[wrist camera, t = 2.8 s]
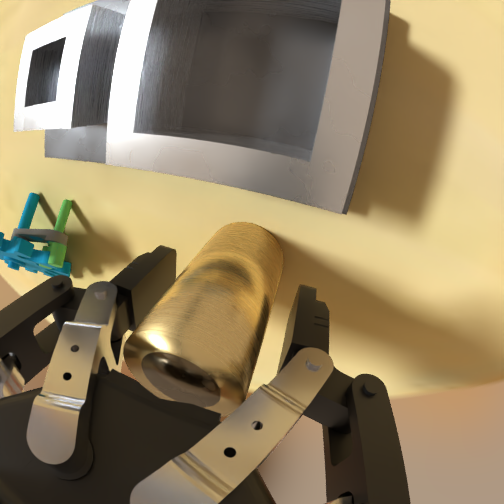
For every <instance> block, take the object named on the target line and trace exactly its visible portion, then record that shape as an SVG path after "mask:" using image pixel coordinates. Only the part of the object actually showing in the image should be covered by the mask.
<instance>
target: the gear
mask: <svg viewBox="0 0 504 504" xmlns="http://www.w3.org/2000/svg"><path fill="white" fill-rule="evenodd" d="M39 198H40V197H39V195H37V194H35V193H30V194H29V197H28V199H27V202H26V205H25V208H24V211H23V213H22V216H21V219H20V223H19V226H18V229H17V228H15V229H14V231H13V234H12V237H11V241H9V240H6V239H3V238H4V234H3V233H2V232H0V259H1V260H5V263H7V264H8V267H9V268H12V269H15V270H19V266H21V267H25V270H28V271H30V272H34V273H37V272H38V271H40V272H43V273H44V275H47V276H50V277H54V276H57V275H65V276H68V277H70V272H71V263H69V262H65V261H64V258H65V254H66V250H67V246H66V244H67V240H68V236H67V235H66V234H64V233H63V232H64V229H65V225H66V222H67V219H68V216H69V212H70V209H71V206H72V202H71V201H69V200H63V203H62V206H61V209H60V212H59V215H58V218H57V222H56V225H55V228H54V230H51V229H29V228H30V225H31V222H32V219H33V216H34V213H35V210H36V207H37V204H38V201H39ZM29 241H30V242H43V243H48V246H49V247H47V246H43V250H42V251H40V250H35V249H33V248H34V244H32V243H30V242H29Z"/></svg>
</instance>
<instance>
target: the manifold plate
mask: <svg viewBox="0 0 504 504" xmlns="http://www.w3.org/2000/svg"><path fill="white" fill-rule="evenodd" d="M389 12H390V0H97V1H94V2H91V3H89V4H86V5H84V6H81V7H79V8H76V9H74V10H72V11H69V12H67V13H65V14H63V17H61V18H58V19H56V20H54V21H52V22H50V23H48V24H46V25H44V26H42V27H40V28H39V29H37V30H35V31H33V32H31V33H30V34H28V35H26V38H25V43H24V47H23V52H22V57H21V62H20V68H19V74H18V81H17V89H16V99H15V112H14V132H16V131H27V130H42V129H45V157H50V158H61V159H71V160H80V161H89V162H97V163H105V164H107V165H114V166H121V167H128V168H135V169H141V170H147V171H153V172H159V173H165V174H171V175H176V176H182V177H187V178H192V179H197V180H203V181H208V182H212V183H217V184H222V185H227V186H231V187H236V188H241V189H245V190H249V191H254V192H258V193H262V194H267V195H271V196H275V197H279V198H283V199H287V200H291V201H295V202H299V203H302V204H306V205H310V206H314V207H317V208H321V209H325V210H328V211H332V212H336V213H339V214H347V211H348V208H349V204H350V201H351V198H352V194H353V191H354V187H355V184H356V180H357V177H358V173H359V169H360V166H361V162H362V158H363V154H364V150H365V146H366V142H367V138H368V134H369V130H370V125H371V121H372V117H373V112H374V107H375V102H376V98H377V93H378V87H379V82H380V76H381V71H382V65H383V59H384V52H385V45H386V38H387V30H388V21H389Z"/></svg>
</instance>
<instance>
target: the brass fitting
mask: <svg viewBox="0 0 504 504" xmlns="http://www.w3.org/2000/svg"><path fill="white" fill-rule="evenodd" d="M283 264H284V258H283V253H282V249H281V247H280V245H279V243H278V241H277V240H276V239H275V237H274V236H273V235H272V234H271V233H269V232H268V231H267V230H265V229H264V228H262V227H260V226H258V225H255V224H252V223H247V222H236V223H231V224H228V225H226V226H224V227H222V228H221V229H220V230H218V231H217V232H216V233H215V235H214V236H213V237H212V238H211V239H210V240H209V241H208V243H207V244H206V245H205V246H204V247H203V248H202V249H201V251H200V252H199V253H198V254H197V255H196V256H195V258H194V259H193V260H192V261H191V262H190V263H189V265H188V266H187V267H186V268H185V269H184V271H183V272H182V273H181V274H180V275H179V276H178V278H177V279H176V280H175V281H174V282H173V284H172V285H171V286H170V287H169V288H168V290H167V291H166V292H165V293H164V294H163V296H162V297H161V298H160V299H159V301H158V302H157V303H156V304H155V305H154V307H153V308H152V309H151V310H150V312H149V313H148V314H147V315H146V317H145V318H144V319H143V320H142V321H141V323H140V324H139V325H138V326H137V328H136V329H135V330H134V332H133V333H132V334H131V335H130V337H129V338H128V339H127V340H126V342H125V344H124V347H123V355H124V359H125V362H126V364H127V366H128V367H129V369H130V371H131V373H132V374H133V376H134V377H135V378H136V379H137V380H138V381H139V383H140V384H141V385H143V386H144V387H145V388H146V389H148V390H149V391H150V392H151V393H153V394H154V395H155V396H157V397H158V398H161V399H165V400H171V401H177V402H184V403H190V404H194V405H197V406H200V407H203V408H205V409H208V410H211V411H214V412H218V413H221V416H228V415H230V414H231V413H233V412H234V411H235V410H236V409H237V408H238V407H239V406H240V405H241V404H242V403H243V402H244V401H245V399H246V395H247V392H248V389H249V386H250V382H251V379H252V376H253V373H254V369H255V366H256V363H257V359H258V356H259V352H260V349H261V345H262V342H263V339H264V335H265V332H266V328H267V324H268V321H269V317H270V314H271V310H272V306H273V303H274V299H275V295H276V292H277V288H278V284H279V281H280V277H281V273H282V269H283Z"/></svg>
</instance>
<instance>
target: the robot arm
mask: <svg viewBox="0 0 504 504" xmlns="http://www.w3.org/2000/svg"><path fill="white" fill-rule="evenodd" d="M175 279H176V250H175V249H172V248H169V247H165V246H162V245H160V246H158V247H157V248H156V249H155V250H154V251H153V252H151V253H149V252H148V253H145V254H143V255H140V256H138V257H137V258H136V259H135V260H134V261H133V262H132V263H130V264H129V265H128V266H127V268H124V269H123V270H122V271H121V272H120V273H119V274H118V275H117V276H115V277H114V278H113V279H112V280H111V281H110V282H106V281H100V282H96V283H93V284H91V285H90V286H89V287H88V288H87V289H82V288H75V287H73V284H72V280H71V278H69V277H68V276H65V275H57V276H54V277H51V278H50V279H48V280H46V281H45V282H43V283H42V284H40V285H38V286H37V287H35V288H34V289H32V290H31V291H29V292H27V293H26V294H24V295H23V296H21V297H20V298H19V299H17V300H15V301H14V302H13V303H11V304H10V305H8V306H7V307H5V308H4V309H2V310H1V311H0V504H276V503H275V501H274V499H273V497H272V496H271V494H270V492H269V490H268V488H267V486H266V484H265V482H264V481H263V479H262V477H261V475H260V473H259V471H258V469H257V468H258V467H259V466H260V465H261V464H262V463H263V462H264V461H265V460H266V459H267V457H268V456H269V455H270V454H271V453H272V452H273V451H274V449H275V448H276V447H277V446H278V444H279V443H280V442H281V441H282V440H283V439H284V437H285V436H286V435H287V434H288V433H289V431H290V430H291V429H292V428H293V426H294V425H295V424H296V422H297V421H298V420H299V419H300V418H301V416H302V415H305V416H307V417H309V418H311V419H313V420H315V421H317V422H319V423H321V424H322V427H323V441H324V455H325V471H326V496H327V503H325V504H410V497H409V491H408V483H407V477H406V472H405V466H404V461H403V456H402V451H401V446H400V442H399V437H398V433H397V428H396V424H395V420H394V416H393V412H392V408H391V404H390V400H389V397H388V393H387V389H386V387H385V385H384V383H383V382H382V381H381V380H380V379H379V378H378V377H376V376H374V375H371V374H361V375H358V376H357V377H356V378H355V379H354V378H352V377H350V376H348V375H346V374H344V373H342V372H340V371H339V370H337V369H336V368H335V367H334V364H333V361H332V359H331V357H330V356H329V310H328V308H327V306H326V304H325V302H321V301H317V300H316V288H312V287H308V286H305V285H301V284H300V286H299V288H298V291H297V294H296V297H295V300H294V303H293V306H292V309H291V312H290V315H289V319H288V323H287V328H286V333H285V338H284V343H283V348H282V352H281V357H280V362H279V366H278V371H277V376H276V377H275V378H274V379H273V380H272V381H271V382H270V383H269V384H268V385H265V384H263V385H262V386H260V387H259V388H258V389H257V390H256V391H255V392H254V393H253V394H252V395H251V396H250V397H249V398H248V399H247V400H245V401H244V402H243V403H242V404H241V405H240V406H239V407H238V408H237V409H236V410H235V411H234V412H233V413H231V414H230V415H229V416H228V417H227V418H226V419H225V420H224V421H223V422H220V418H221V413H218V412H214V411H211V410H208V409H205V408H203V407H200V406H197V405H194V404H190V403H184V402H177V401H171V400H165V399H161V398H158V397H157V396H155V395H154V394H153V393H151V392H150V391H149V390H148V389H146V388H145V387H144V386H142V385H141V384H140V383H139V382H137V381H136V380H134V379H132V378H130V377H128V376H126V375H124V374H122V373H121V365H122V358H123V347H124V344H125V339H126V337H125V333H126V331H127V330H128V329H129V330H131V331H134V330H135V329H136V328H137V326H138V325H139V324H140V323H141V321H142V320H143V319H144V318H145V317H146V315H147V314H148V313H149V312H150V310H151V309H152V308H153V307H154V305H155V304H156V303H157V302H158V301H159V299H160V298H161V297H162V296H163V294H164V293H165V292H166V291H167V290H168V288H169V287H170V286H171V285H172V284H173V282H174V281H175ZM51 313H52V314H53V317H54V319H55V321H54V322H53V323H52V324H50V325H49V326H48V327H46V328H45V329H44V330H42V331H41V332H40V333H38V334H37V335H36V336H34V334H33V329H34V327H35V325H36V324H37V323H39V322H40V321H41V320H43V319H44V318H46V317H47V316H48V315H50V314H51ZM49 363H50V365H49V368H48V371H47V374H46V378H45V381H44V385H43V387H41V388H37V389H34V390H30V391H26V392H25V391H24V390H23V388H24V385H25V384H26V383H27V382H29V381H30V380H31V379H32V378H33V377H34V376H35V375H37V374H38V373H39V372H40V371H41V370H42V369H43V368H45V367H46V366H47V365H48V364H49Z"/></svg>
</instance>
